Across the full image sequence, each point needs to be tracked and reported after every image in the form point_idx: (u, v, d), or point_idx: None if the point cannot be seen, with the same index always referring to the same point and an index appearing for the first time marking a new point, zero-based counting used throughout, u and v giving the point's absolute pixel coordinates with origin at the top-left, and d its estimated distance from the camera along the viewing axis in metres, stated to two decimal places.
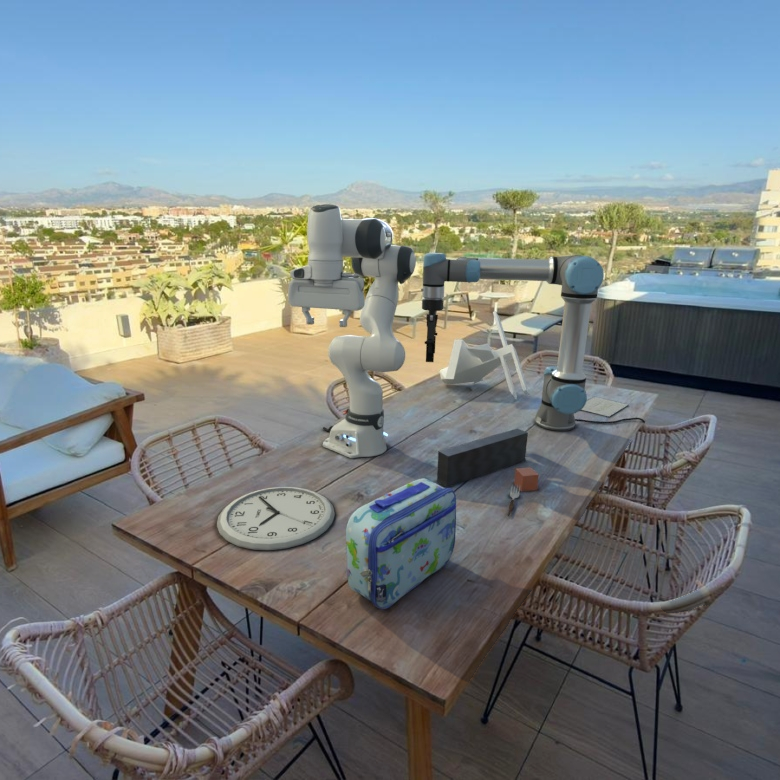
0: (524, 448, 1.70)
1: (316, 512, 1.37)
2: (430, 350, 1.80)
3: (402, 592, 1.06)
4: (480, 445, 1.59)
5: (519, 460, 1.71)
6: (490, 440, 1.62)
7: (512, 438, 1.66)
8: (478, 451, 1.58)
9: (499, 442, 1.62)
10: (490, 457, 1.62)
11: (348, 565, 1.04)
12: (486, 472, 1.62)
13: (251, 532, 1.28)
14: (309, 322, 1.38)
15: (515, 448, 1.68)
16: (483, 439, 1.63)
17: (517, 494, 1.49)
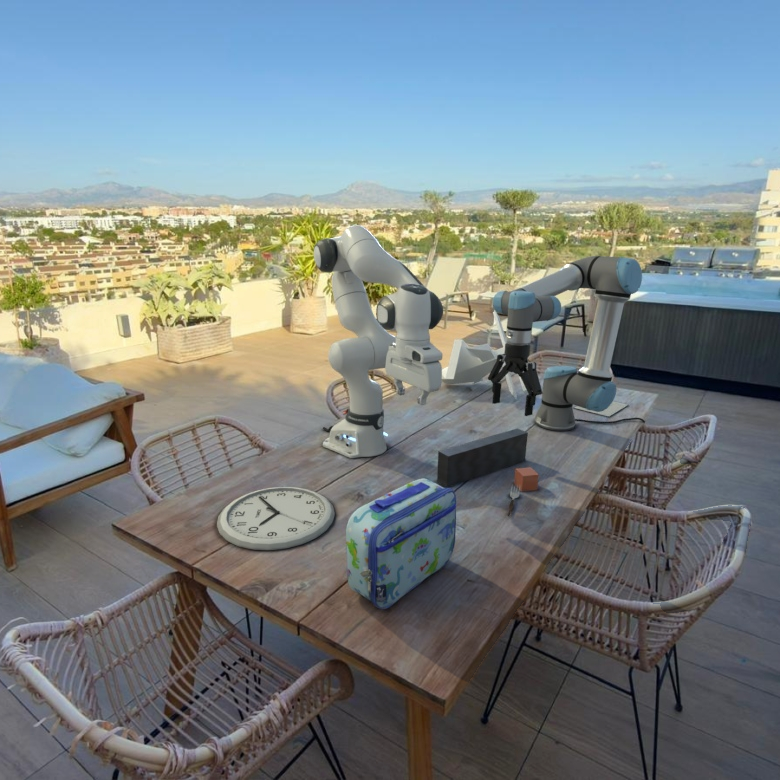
0: (524, 448, 1.70)
1: (316, 512, 1.37)
2: (534, 402, 1.58)
3: (402, 592, 1.06)
4: (480, 445, 1.59)
5: (519, 460, 1.71)
6: (490, 440, 1.62)
7: (512, 438, 1.66)
8: (478, 451, 1.58)
9: (499, 442, 1.62)
10: (490, 457, 1.62)
11: (348, 565, 1.04)
12: (486, 472, 1.62)
13: (251, 532, 1.28)
14: None
15: (515, 448, 1.68)
16: (483, 439, 1.63)
17: (517, 494, 1.49)
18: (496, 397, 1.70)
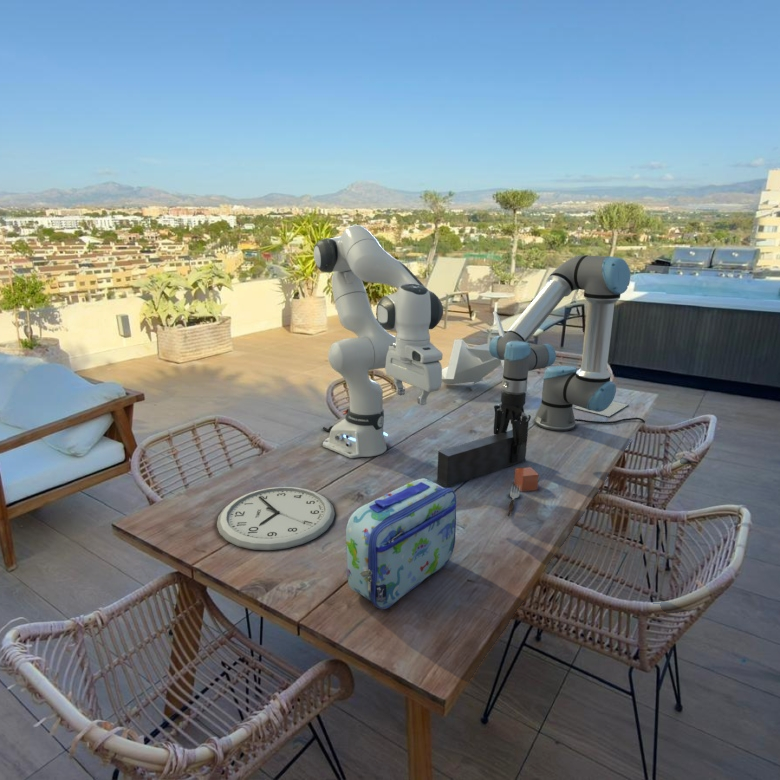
0: (524, 448, 1.70)
1: (316, 512, 1.37)
2: (518, 451, 1.66)
3: (402, 592, 1.06)
4: (480, 445, 1.59)
5: (519, 460, 1.71)
6: (490, 440, 1.62)
7: (512, 438, 1.66)
8: (478, 451, 1.58)
9: (499, 442, 1.62)
10: (490, 457, 1.62)
11: (348, 565, 1.04)
12: (486, 472, 1.62)
13: (251, 532, 1.28)
14: None
15: None
16: (483, 439, 1.63)
17: (517, 494, 1.49)
18: None
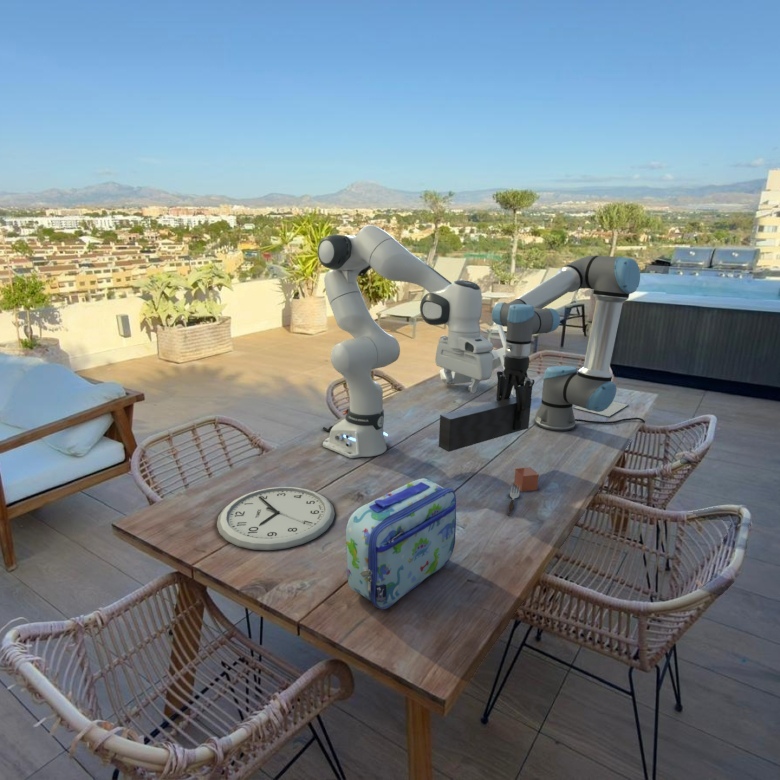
0: (527, 415, 1.67)
1: (316, 512, 1.37)
2: (522, 417, 1.63)
3: (402, 592, 1.06)
4: (483, 410, 1.55)
5: (522, 427, 1.67)
6: (492, 405, 1.59)
7: (515, 404, 1.62)
8: (481, 415, 1.54)
9: (502, 408, 1.59)
10: (493, 422, 1.58)
11: (348, 565, 1.04)
12: (489, 438, 1.59)
13: (251, 532, 1.28)
14: None
15: None
16: (486, 404, 1.60)
17: (517, 494, 1.49)
18: None
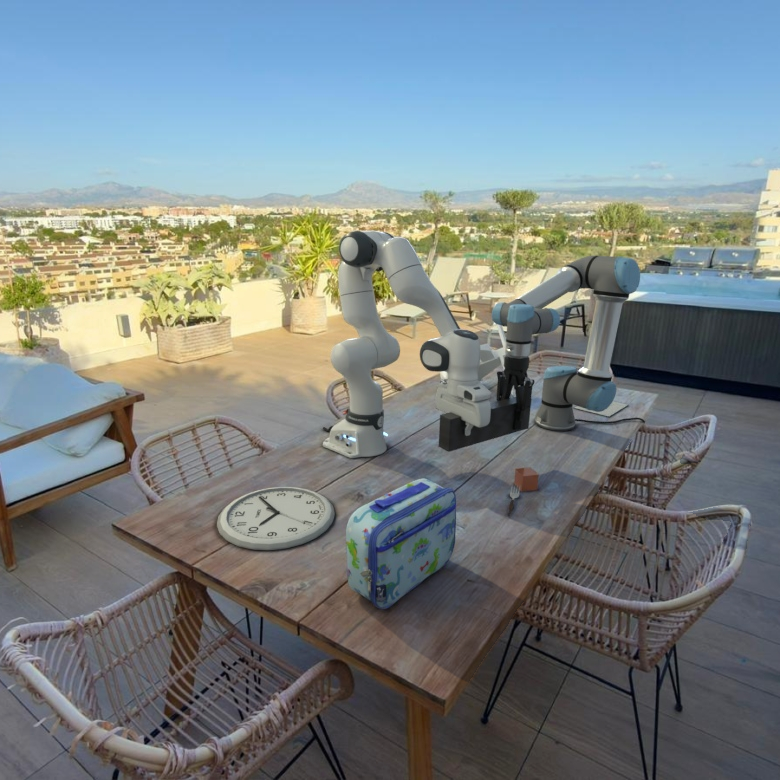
0: (527, 415, 1.67)
1: (316, 512, 1.37)
2: (522, 417, 1.63)
3: (402, 592, 1.06)
4: None
5: (522, 427, 1.67)
6: (492, 405, 1.59)
7: (515, 404, 1.62)
8: None
9: (502, 408, 1.59)
10: (493, 422, 1.58)
11: (348, 565, 1.04)
12: (489, 438, 1.59)
13: (251, 532, 1.28)
14: None
15: None
16: None
17: (517, 494, 1.49)
18: None
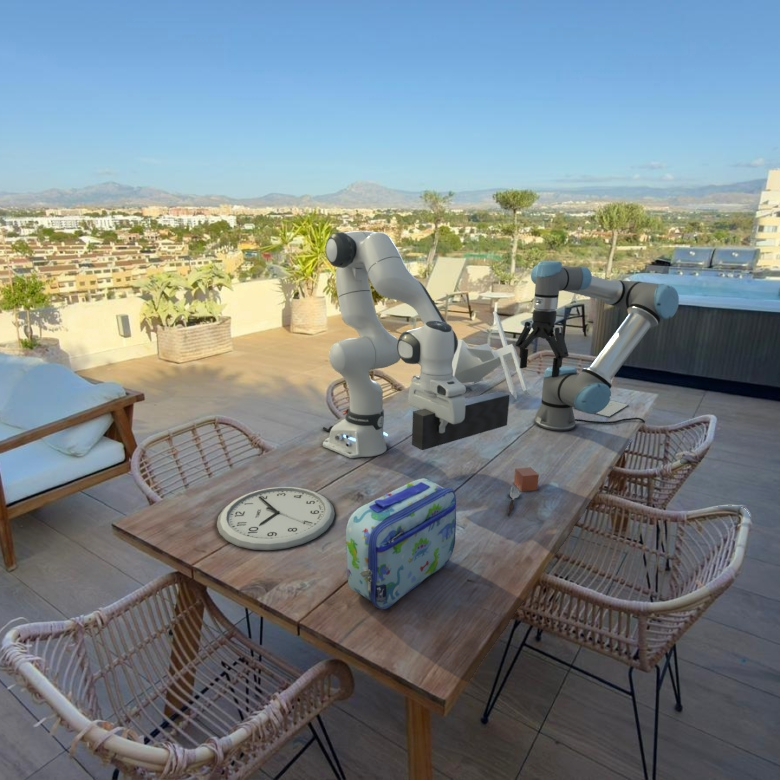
0: (506, 411, 1.60)
1: (316, 512, 1.37)
2: (560, 364, 1.70)
3: (402, 592, 1.06)
4: None
5: (501, 424, 1.60)
6: (469, 401, 1.52)
7: (493, 400, 1.55)
8: None
9: (478, 404, 1.51)
10: (469, 419, 1.51)
11: (348, 565, 1.04)
12: (465, 436, 1.52)
13: (251, 532, 1.28)
14: None
15: (496, 411, 1.57)
16: None
17: (517, 494, 1.49)
18: (524, 362, 1.82)
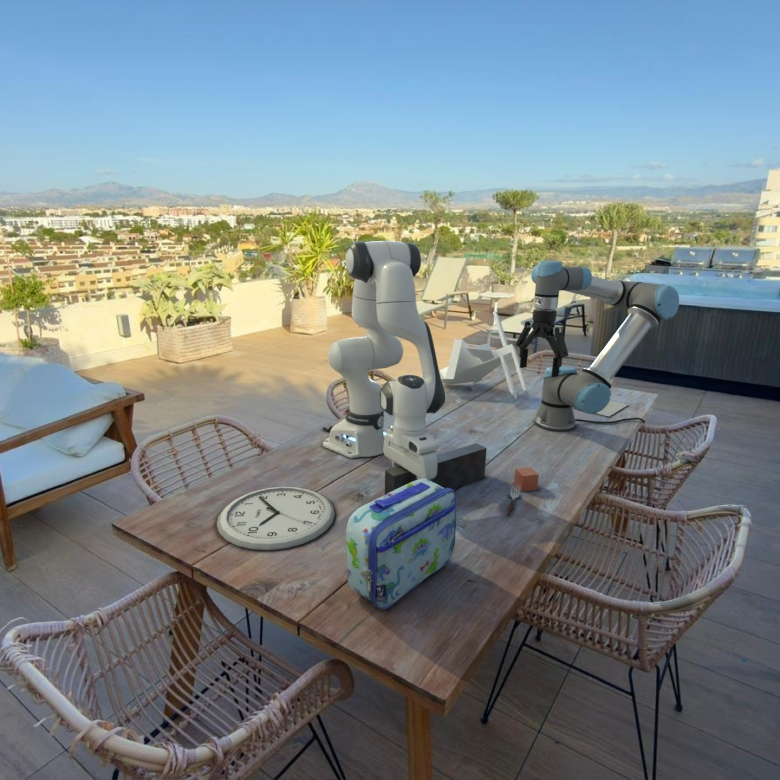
0: (483, 465, 1.58)
1: (316, 512, 1.37)
2: (560, 364, 1.70)
3: (402, 592, 1.06)
4: None
5: (477, 478, 1.58)
6: (444, 457, 1.50)
7: (469, 455, 1.53)
8: None
9: (453, 459, 1.50)
10: (444, 475, 1.49)
11: (348, 565, 1.04)
12: None
13: (251, 532, 1.28)
14: None
15: (472, 465, 1.55)
16: (437, 456, 1.51)
17: (517, 494, 1.49)
18: (523, 361, 1.82)
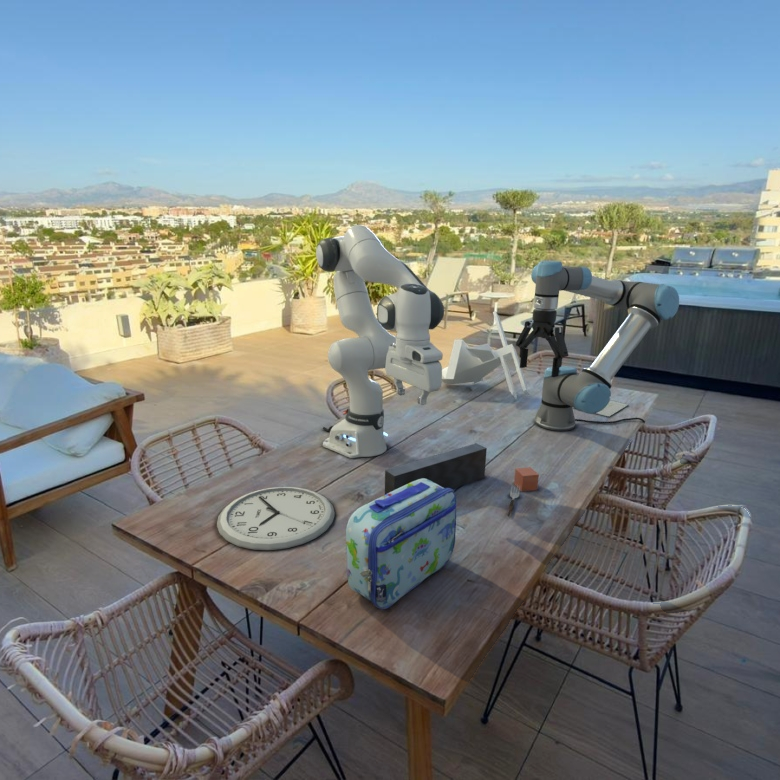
0: (483, 465, 1.58)
1: (316, 512, 1.37)
2: (560, 364, 1.70)
3: (402, 592, 1.06)
4: (432, 463, 1.46)
5: (477, 478, 1.58)
6: (444, 457, 1.50)
7: (469, 455, 1.53)
8: (430, 469, 1.45)
9: (453, 459, 1.50)
10: (444, 475, 1.49)
11: (348, 565, 1.04)
12: None
13: (251, 532, 1.28)
14: None
15: (472, 465, 1.55)
16: (437, 456, 1.51)
17: (517, 494, 1.49)
18: (523, 361, 1.82)
